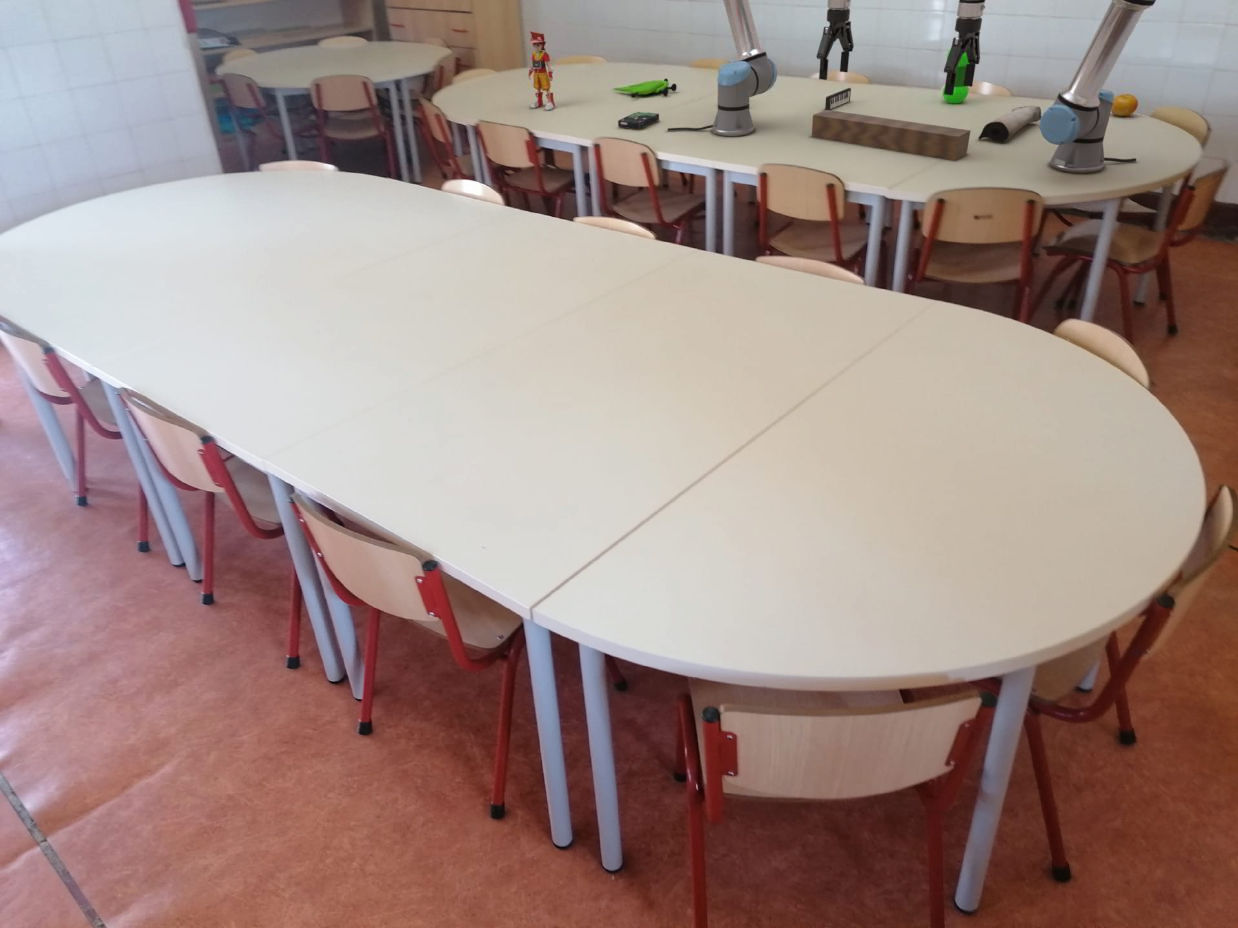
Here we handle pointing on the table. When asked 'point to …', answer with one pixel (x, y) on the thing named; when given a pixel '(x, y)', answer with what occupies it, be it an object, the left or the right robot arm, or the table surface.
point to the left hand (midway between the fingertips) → (833, 75)
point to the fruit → (1124, 105)
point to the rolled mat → (1010, 123)
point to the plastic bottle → (958, 82)
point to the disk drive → (638, 120)
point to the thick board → (891, 134)
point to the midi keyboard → (837, 99)
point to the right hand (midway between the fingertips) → (958, 90)
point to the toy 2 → (648, 88)
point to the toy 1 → (541, 71)
